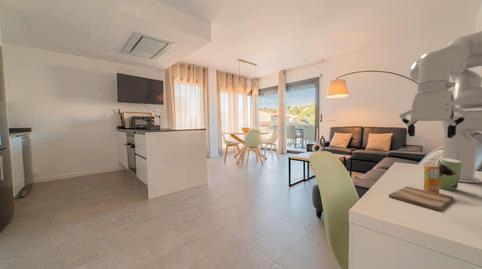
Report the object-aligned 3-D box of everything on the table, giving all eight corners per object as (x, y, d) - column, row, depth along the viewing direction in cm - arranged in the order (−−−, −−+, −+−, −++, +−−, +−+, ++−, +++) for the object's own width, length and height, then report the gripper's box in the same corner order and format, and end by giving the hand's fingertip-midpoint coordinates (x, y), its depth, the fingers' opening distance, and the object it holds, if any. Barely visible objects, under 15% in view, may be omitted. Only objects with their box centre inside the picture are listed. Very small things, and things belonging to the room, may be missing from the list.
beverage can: (446, 185, 74) (447, 157, 74) (466, 192, 67) (468, 160, 67) (429, 185, 75) (430, 156, 74) (447, 191, 68) (449, 160, 67)
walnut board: (406, 188, 71) (406, 186, 71) (453, 199, 61) (453, 196, 61) (388, 197, 63) (388, 194, 63) (438, 211, 52) (438, 207, 52)
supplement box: (422, 190, 69) (423, 164, 69) (433, 191, 68) (435, 165, 68) (427, 193, 66) (428, 166, 66) (439, 194, 65) (441, 167, 65)
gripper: (474, 85, 58) (470, 138, 58) (405, 93, 73) (402, 135, 73) (469, 82, 54) (465, 138, 55) (397, 91, 69) (395, 135, 70)
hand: (429, 136), depth 64 cm, fingers open, 9 cm apart
